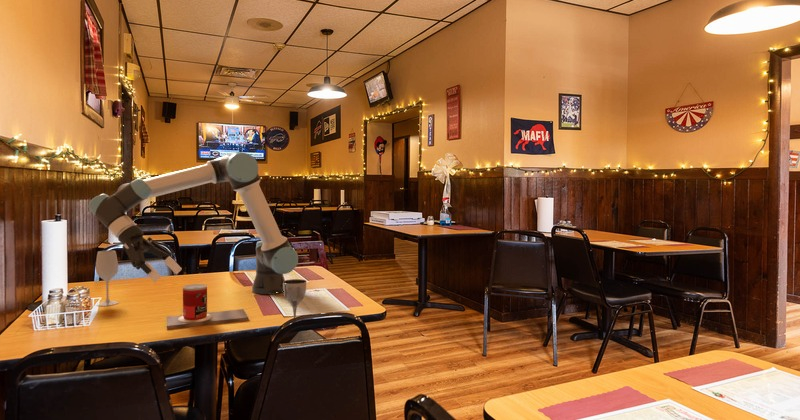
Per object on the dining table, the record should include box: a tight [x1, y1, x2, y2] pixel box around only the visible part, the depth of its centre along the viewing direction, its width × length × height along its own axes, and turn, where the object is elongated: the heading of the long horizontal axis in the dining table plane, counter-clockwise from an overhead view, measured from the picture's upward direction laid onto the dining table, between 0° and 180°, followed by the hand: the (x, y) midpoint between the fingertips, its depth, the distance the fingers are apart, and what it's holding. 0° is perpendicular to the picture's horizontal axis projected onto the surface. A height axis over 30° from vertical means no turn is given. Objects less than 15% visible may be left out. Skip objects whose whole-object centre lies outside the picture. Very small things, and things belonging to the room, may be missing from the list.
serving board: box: [166, 308, 249, 330], centre depth 168 cm, size 26×12×2 cm, turn 116°
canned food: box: [182, 283, 208, 320], centre depth 166 cm, size 8×8×11 cm
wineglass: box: [95, 249, 119, 307], centre depth 188 cm, size 8×8×21 cm
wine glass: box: [283, 278, 307, 319], centre depth 165 cm, size 8×8×15 cm
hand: (169, 275), depth 166 cm, fingers open, 13 cm apart
